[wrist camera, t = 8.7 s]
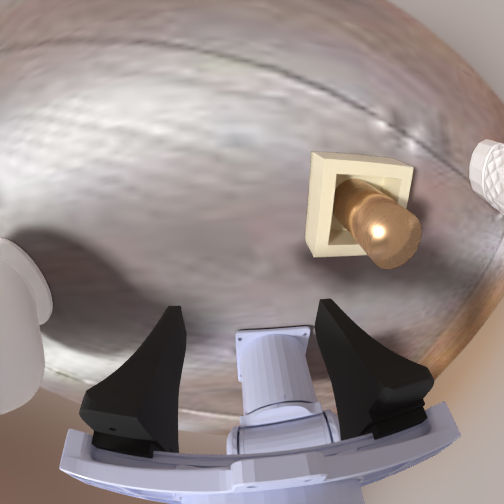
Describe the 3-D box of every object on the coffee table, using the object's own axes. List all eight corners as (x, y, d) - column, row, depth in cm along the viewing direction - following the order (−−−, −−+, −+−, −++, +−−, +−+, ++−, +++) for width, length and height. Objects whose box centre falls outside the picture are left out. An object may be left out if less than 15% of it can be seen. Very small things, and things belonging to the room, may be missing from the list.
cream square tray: (380, 237, 24) (395, 253, 21) (304, 239, 23) (313, 257, 20) (393, 158, 20) (413, 167, 17) (311, 151, 19) (323, 158, 17)
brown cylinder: (372, 221, 22) (415, 263, 16) (330, 226, 22) (366, 274, 16) (374, 177, 20) (425, 209, 14) (330, 180, 20) (373, 215, 14)
